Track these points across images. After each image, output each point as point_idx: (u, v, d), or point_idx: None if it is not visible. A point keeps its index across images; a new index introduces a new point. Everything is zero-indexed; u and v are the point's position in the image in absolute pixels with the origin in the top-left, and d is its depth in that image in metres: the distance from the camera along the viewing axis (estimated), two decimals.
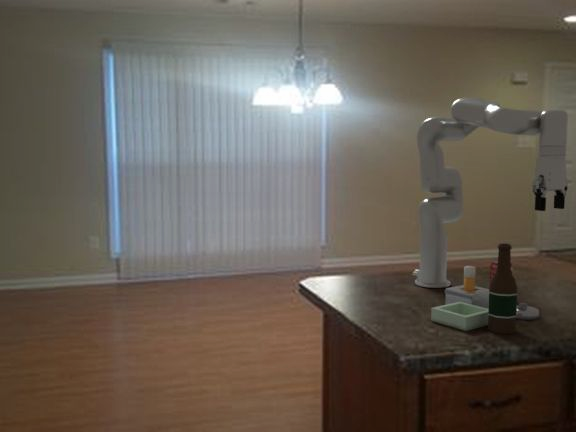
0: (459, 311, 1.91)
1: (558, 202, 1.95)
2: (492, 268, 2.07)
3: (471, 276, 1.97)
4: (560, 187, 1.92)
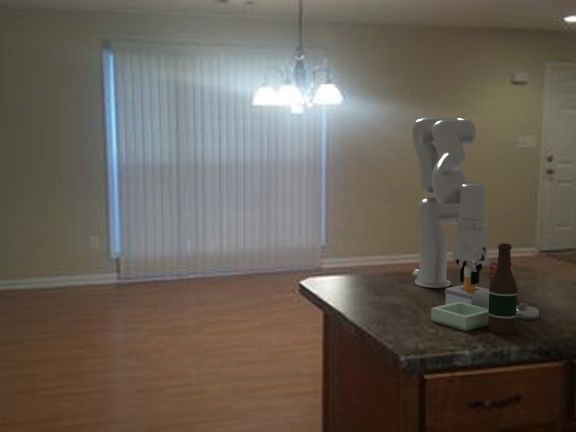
0: (459, 311, 1.91)
1: None
2: (492, 268, 2.07)
3: None
4: None
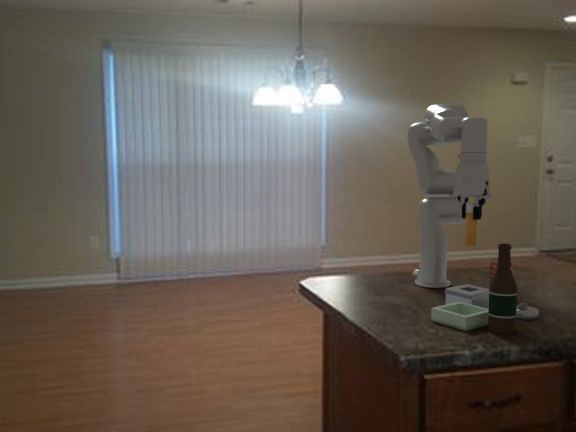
0: (459, 311, 1.91)
1: None
2: (492, 268, 2.07)
3: None
4: None
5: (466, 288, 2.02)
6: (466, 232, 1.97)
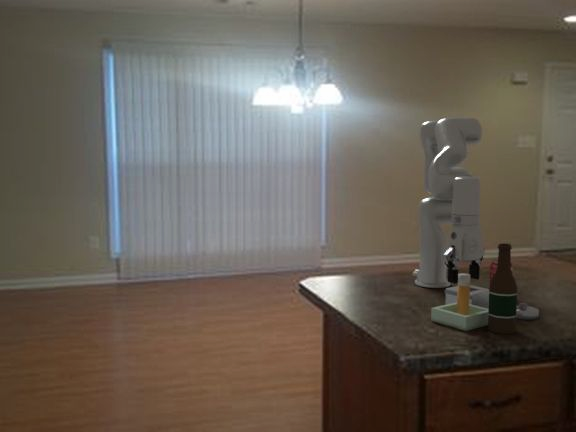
0: None
1: None
2: (492, 268, 2.07)
3: None
4: None
5: None
6: (466, 306, 1.83)
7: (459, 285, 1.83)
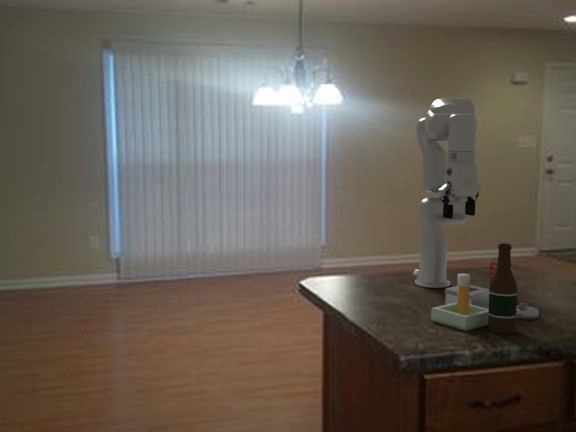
0: None
1: None
2: (492, 268, 2.07)
3: None
4: None
5: None
6: (466, 307, 1.83)
7: (459, 285, 1.83)
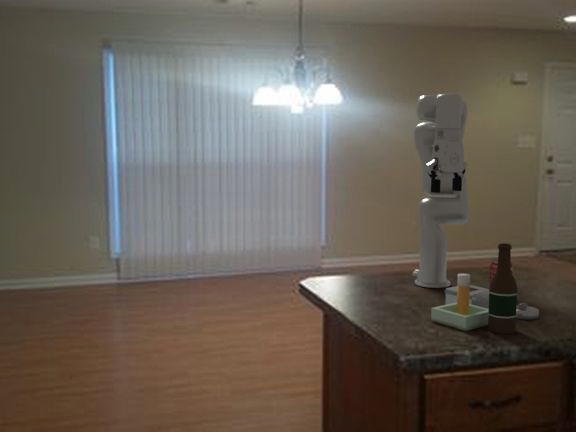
0: None
1: None
2: (492, 268, 2.07)
3: None
4: None
5: None
6: (466, 307, 1.83)
7: (459, 285, 1.83)
